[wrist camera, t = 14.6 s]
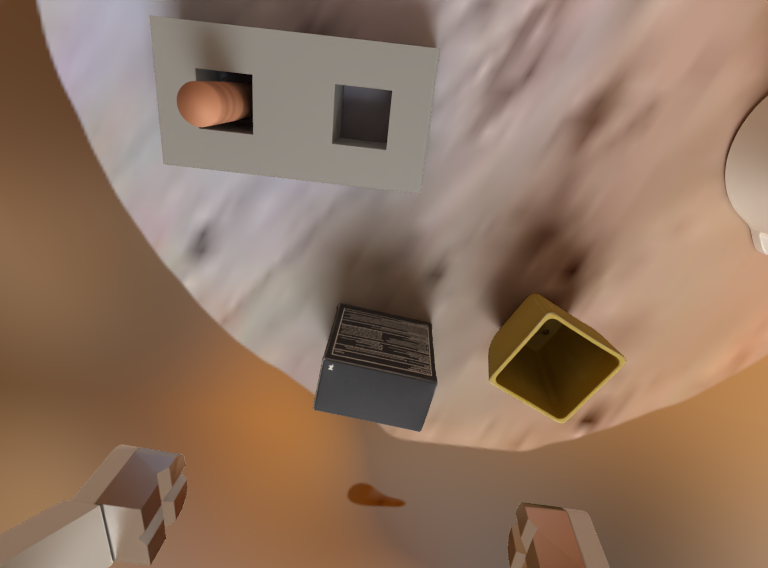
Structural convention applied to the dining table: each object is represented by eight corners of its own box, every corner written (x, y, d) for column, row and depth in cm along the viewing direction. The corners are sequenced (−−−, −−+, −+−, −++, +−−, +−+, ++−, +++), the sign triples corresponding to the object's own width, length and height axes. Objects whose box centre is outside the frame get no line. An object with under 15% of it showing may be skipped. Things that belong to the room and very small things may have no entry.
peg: (262, 84, 40) (218, 83, 31) (262, 119, 41) (220, 129, 32) (228, 80, 40) (174, 78, 31) (229, 115, 41) (178, 124, 32)
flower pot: (473, 332, 49) (486, 382, 41) (525, 270, 46) (550, 311, 38) (537, 370, 50) (562, 425, 42) (591, 312, 47) (629, 360, 39)
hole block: (436, 53, 38) (440, 48, 34) (419, 182, 43) (420, 193, 38) (180, 23, 38) (149, 15, 34) (189, 155, 43) (163, 164, 38)
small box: (328, 351, 51) (309, 413, 41) (338, 301, 48) (320, 355, 39) (418, 371, 51) (420, 436, 42) (433, 322, 49) (439, 380, 39)
